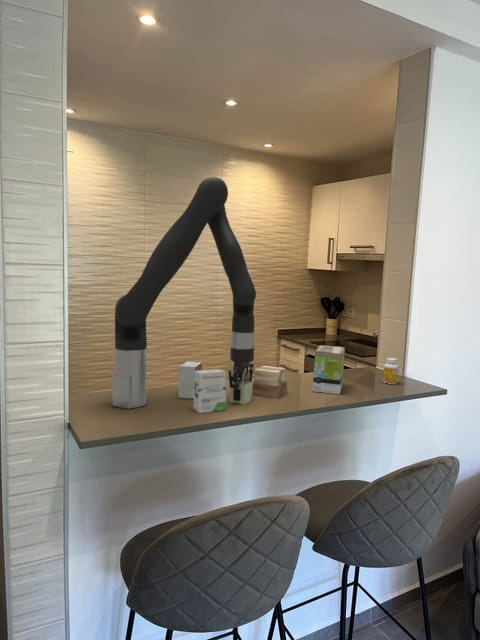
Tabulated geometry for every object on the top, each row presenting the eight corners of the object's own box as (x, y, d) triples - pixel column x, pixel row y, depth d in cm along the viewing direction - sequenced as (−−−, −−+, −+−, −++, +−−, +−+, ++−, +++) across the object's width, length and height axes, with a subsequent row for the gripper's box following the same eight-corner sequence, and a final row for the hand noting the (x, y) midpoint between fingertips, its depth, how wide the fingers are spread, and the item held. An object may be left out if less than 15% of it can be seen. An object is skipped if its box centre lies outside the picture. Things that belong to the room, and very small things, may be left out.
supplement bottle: (380, 382, 177) (381, 357, 176) (391, 381, 179) (393, 357, 178) (388, 385, 172) (390, 360, 171) (400, 384, 174) (402, 360, 173)
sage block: (244, 404, 141) (244, 385, 141) (230, 401, 144) (230, 383, 143) (250, 400, 146) (251, 382, 145) (236, 397, 148) (237, 380, 147)
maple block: (276, 386, 148) (277, 372, 148) (254, 382, 152) (254, 369, 151) (284, 381, 156) (285, 368, 155) (263, 378, 159) (263, 365, 158)
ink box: (219, 405, 139) (220, 368, 138) (226, 410, 134) (227, 371, 133) (192, 408, 135) (193, 369, 134) (198, 413, 131) (199, 373, 129)
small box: (194, 399, 145) (195, 367, 144) (177, 397, 146) (178, 365, 145) (201, 392, 153) (202, 362, 151) (185, 391, 154) (186, 361, 153)
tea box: (341, 395, 156) (343, 352, 155) (311, 392, 159) (314, 350, 157) (342, 384, 171) (345, 346, 169) (316, 382, 173) (318, 344, 172)
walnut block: (277, 400, 148) (277, 386, 148) (252, 395, 152) (252, 382, 152) (286, 393, 156) (287, 381, 156) (262, 390, 160) (263, 377, 160)
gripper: (241, 341, 151) (239, 391, 153) (221, 347, 138) (219, 402, 140) (262, 344, 148) (260, 394, 149) (243, 350, 135) (241, 406, 137)
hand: (240, 398), depth 145 cm, fingers closed on sage block, 5 cm apart
